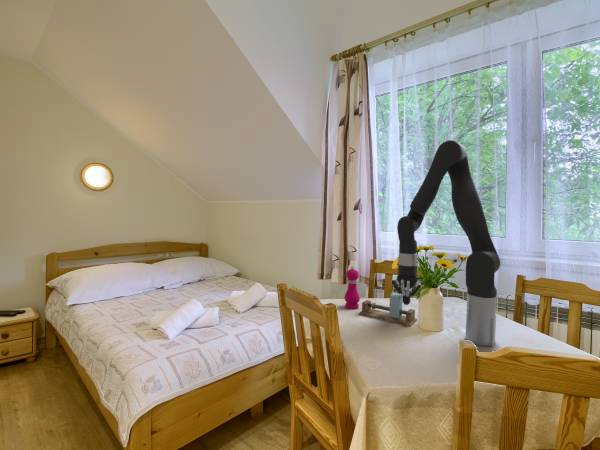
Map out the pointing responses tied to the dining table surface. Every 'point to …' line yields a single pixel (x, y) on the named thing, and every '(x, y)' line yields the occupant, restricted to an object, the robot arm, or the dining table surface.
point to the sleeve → (395, 305)
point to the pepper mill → (352, 289)
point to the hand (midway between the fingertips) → (406, 304)
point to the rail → (387, 314)
